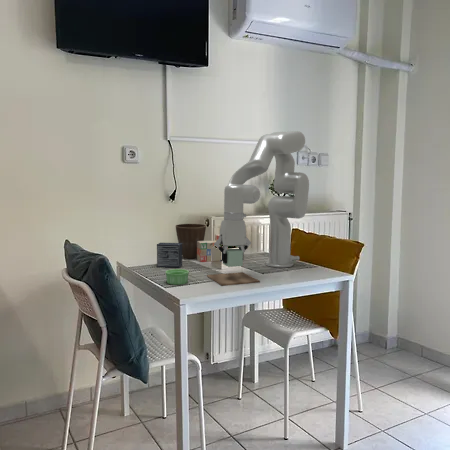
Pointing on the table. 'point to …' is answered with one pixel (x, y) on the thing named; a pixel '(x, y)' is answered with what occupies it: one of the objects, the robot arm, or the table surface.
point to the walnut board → (232, 278)
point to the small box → (169, 255)
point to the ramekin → (177, 276)
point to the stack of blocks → (205, 249)
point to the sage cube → (234, 257)
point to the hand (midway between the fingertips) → (232, 262)
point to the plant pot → (190, 238)
